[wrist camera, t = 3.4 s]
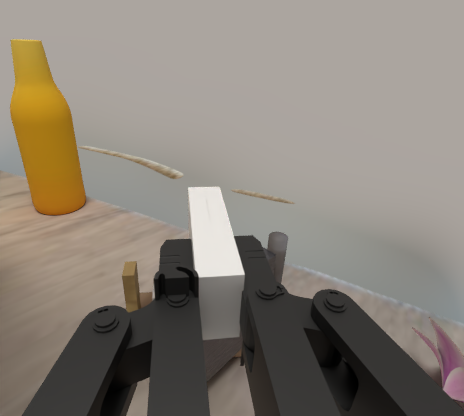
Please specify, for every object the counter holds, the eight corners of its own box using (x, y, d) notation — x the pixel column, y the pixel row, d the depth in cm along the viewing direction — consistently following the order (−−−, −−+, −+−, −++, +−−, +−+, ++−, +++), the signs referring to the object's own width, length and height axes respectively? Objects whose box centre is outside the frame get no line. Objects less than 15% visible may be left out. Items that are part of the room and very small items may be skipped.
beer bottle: (96, 203, 66) (71, 42, 53) (51, 221, 59) (9, 41, 46) (69, 190, 71) (39, 39, 57) (24, 206, 64) (-22, 37, 50)
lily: (526, 527, 26) (613, 437, 24) (395, 454, 25) (472, 358, 24) (442, 409, 37) (496, 343, 36) (352, 358, 37) (401, 290, 35)
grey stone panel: (254, 316, 39) (262, 247, 34) (266, 324, 38) (276, 254, 33) (167, 393, 30) (162, 314, 26) (180, 407, 29) (177, 326, 25)
